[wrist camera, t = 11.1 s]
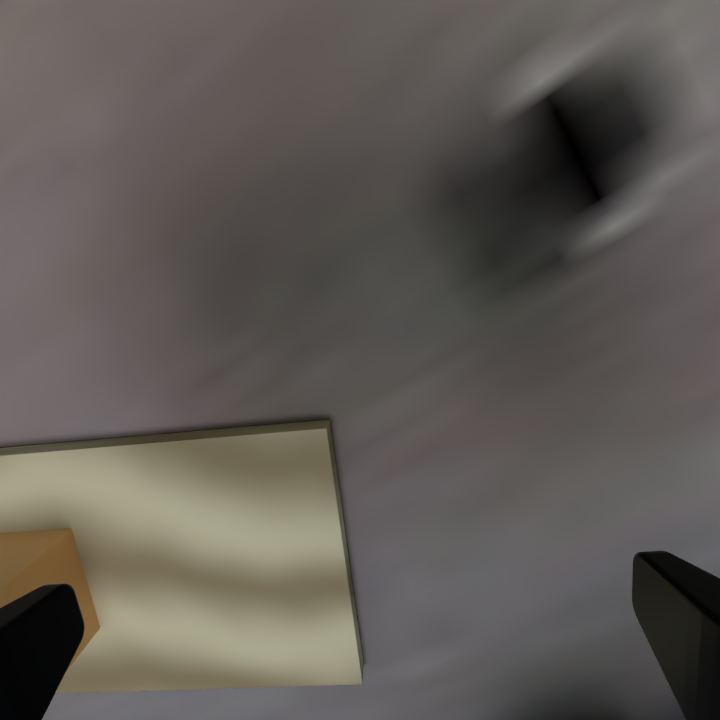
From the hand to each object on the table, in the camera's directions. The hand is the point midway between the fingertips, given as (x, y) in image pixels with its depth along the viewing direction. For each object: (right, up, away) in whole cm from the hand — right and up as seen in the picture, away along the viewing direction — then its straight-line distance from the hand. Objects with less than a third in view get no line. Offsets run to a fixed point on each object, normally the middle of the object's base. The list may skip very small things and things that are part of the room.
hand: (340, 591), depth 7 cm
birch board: (-10, -6, +15) cm, 19 cm away
